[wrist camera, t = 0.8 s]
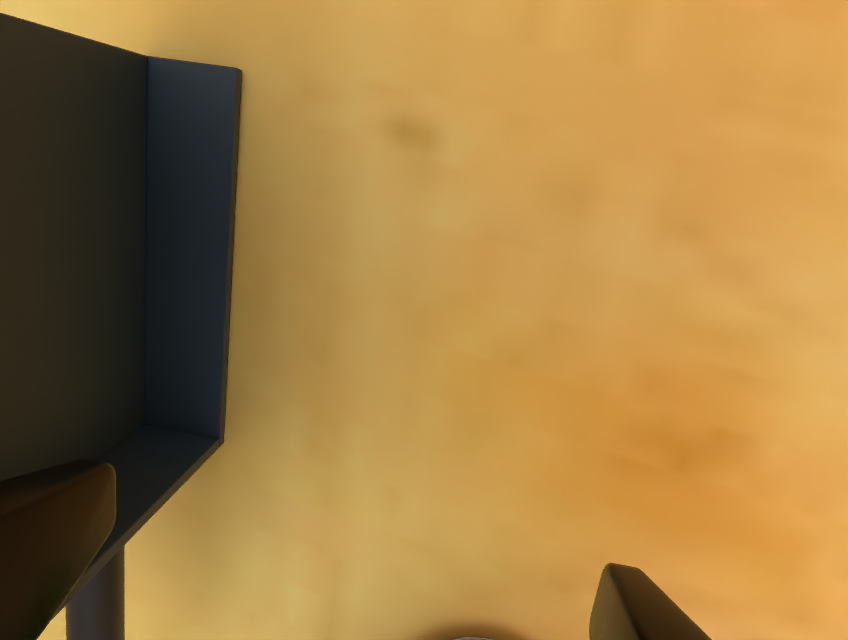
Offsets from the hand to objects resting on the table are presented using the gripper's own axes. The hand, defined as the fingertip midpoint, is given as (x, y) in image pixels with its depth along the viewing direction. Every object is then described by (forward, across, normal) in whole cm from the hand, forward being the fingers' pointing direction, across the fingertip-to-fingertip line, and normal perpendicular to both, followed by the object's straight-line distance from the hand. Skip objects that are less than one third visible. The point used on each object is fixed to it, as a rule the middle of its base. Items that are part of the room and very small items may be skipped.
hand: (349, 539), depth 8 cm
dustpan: (+13, +9, +4) cm, 16 cm away
